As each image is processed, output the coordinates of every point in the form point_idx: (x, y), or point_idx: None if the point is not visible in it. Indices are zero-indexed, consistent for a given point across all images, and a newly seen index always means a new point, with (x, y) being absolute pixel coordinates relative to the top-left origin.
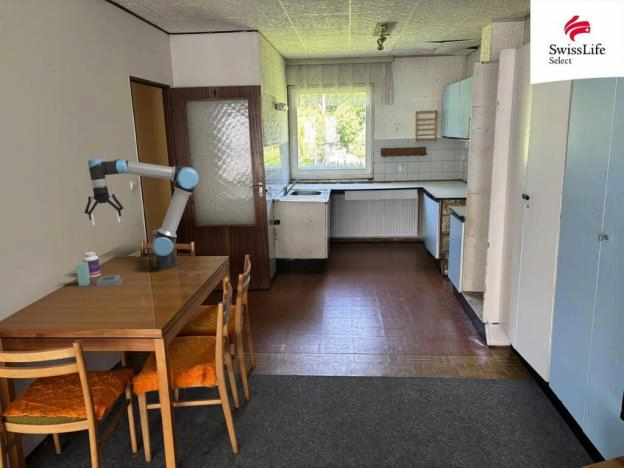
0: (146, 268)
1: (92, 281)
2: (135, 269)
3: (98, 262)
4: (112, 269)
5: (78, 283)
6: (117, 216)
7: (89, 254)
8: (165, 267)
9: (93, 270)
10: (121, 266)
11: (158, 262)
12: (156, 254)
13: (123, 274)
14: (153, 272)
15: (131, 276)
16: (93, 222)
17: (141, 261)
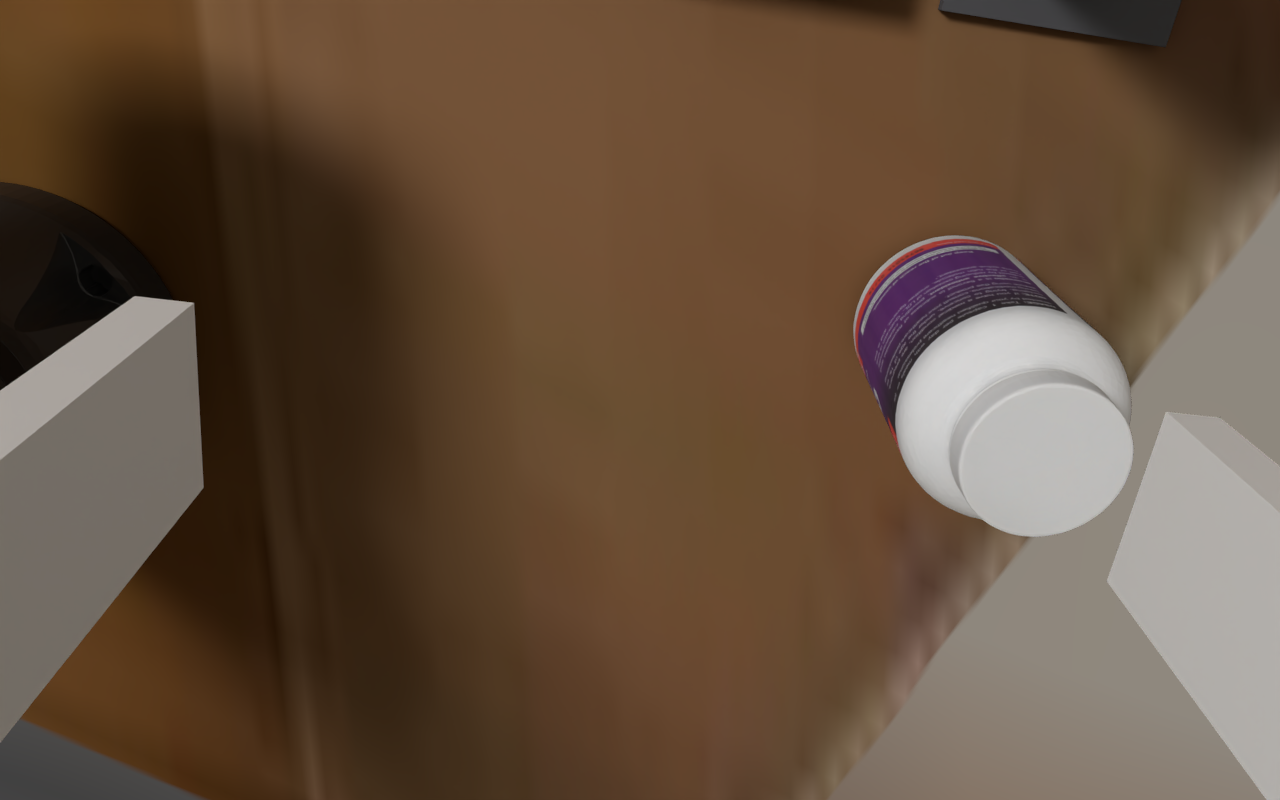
0: (282, 333)
1: (975, 4)
2: (422, 360)
3: (890, 363)
4: (707, 508)
5: (1162, 7)
6: (38, 417)
7: (1056, 379)
8: (4, 185)
9: (958, 260)
10: (602, 582)
11: (72, 293)
12: (23, 358)
13: (566, 198)
14: (162, 77)
15: (454, 32)
16: (1241, 476)
17: (375, 672)
